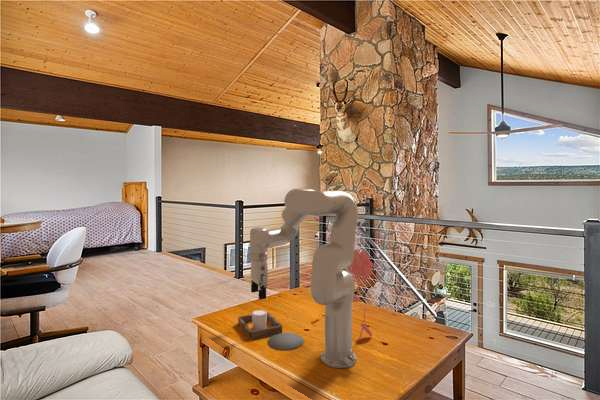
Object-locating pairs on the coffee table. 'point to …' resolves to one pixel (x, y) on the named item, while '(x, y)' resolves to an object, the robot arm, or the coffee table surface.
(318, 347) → the coffee table surface
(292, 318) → the coffee table surface
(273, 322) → the brown rectangular frame
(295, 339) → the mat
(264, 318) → the white cylinder
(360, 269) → the figurine
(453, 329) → the coffee table surface
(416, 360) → the coffee table surface
